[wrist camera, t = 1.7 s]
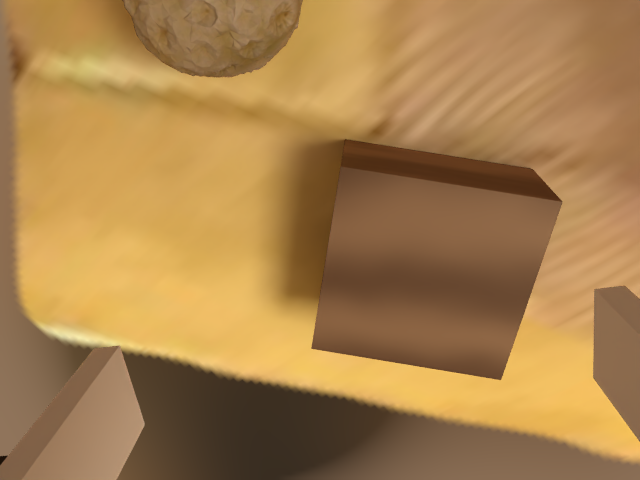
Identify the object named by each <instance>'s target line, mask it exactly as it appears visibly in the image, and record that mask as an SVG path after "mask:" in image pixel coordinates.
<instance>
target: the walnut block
mask: <svg viewBox="0 0 640 480" xmlns="http://www.w3.org/2000/svg"><path fill="white" fill-rule="evenodd" d="M561 205H562V201H561V200H560V199H559V197H558V196H557V195H556V194H555V193H554V192H553V191H552V190H551V189H550V188H549V187H548V185H547V184H546V183H545V182H544V181H543V180H542V179H541V178H540V177H539V176H538V175H537V173H536V172H535V171H534V170H533V169H529V168H522V167H516V166H510V165H504V164H497V163H491V162H485V161H478V160H472V159H466V158H459V157H453V156H447V155H440V154H434V153H428V152H421V151H415V150H409V149H402V148H396V147H390V146H384V145H377V144H371V143H365V142H358V141H352V140H346V139H345V144H344V150H343V156H342V162H341V168H340V174H339V180H338V187H337V193H336V199H335V205H334V212H333V218H332V224H331V230H330V236H329V243H328V249H327V255H326V261H325V268H324V274H323V280H322V286H321V292H320V299H319V305H318V311H317V317H316V323H315V330H314V336H313V342H312V348H311V349H317V350H323V351H329V352H335V353H341V354H347V355H353V356H359V357H365V358H371V359H377V360H383V361H389V362H395V363H401V364H407V365H413V366H419V367H425V368H432V369H438V370H444V371H450V372H456V373H462V374H468V375H474V376H480V377H486V378H492V379H498V380H501V378H502V376H503V373H504V370H505V367H506V364H507V361H508V358H509V355H510V352H511V349H512V347H513V344H514V341H515V338H516V335H517V332H518V329H519V326H520V323H521V321H522V318H523V315H524V312H525V309H526V306H527V303H528V300H529V297H530V295H531V292H532V289H533V286H534V283H535V280H536V277H537V274H538V271H539V269H540V266H541V263H542V260H543V257H544V254H545V251H546V248H547V245H548V242H549V240H550V237H551V234H552V231H553V228H554V225H555V222H556V219H557V216H558V214H559V211H560V208H561Z"/></svg>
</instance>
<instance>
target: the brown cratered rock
mask: <svg viewBox="0 0 640 480" xmlns="http://www.w3.org/2000/svg"><path fill="white" fill-rule="evenodd" d="M302 1H303V0H123V2H124V6H125V8H126V10H127V11H128V12H129V14H130V15H131V17H132V20H133V23H134V28H135V31H136V34H137V36H138V37H139V39H140V40H141V41H142V43H143V44H144V45H145V47H146V48H147V49H148V50H149V51H150V52H151V53H153V54H154V55H155V56H156V57H158V58H159V59H160V60H161V61H162V62H163V63H165V64H167V65H169V66H170V67H172V68H174V69H176V70H178V71H180V72H181V73H187V74H189V75H192V76H195V75H197V76H207V77H233V76H236V75H239V74H244V73H246V72H252V71H253V70H258V69H260V68H262V67H263V66H265V65H266V64H267V62H269V61H270V60H271V59H272V58H273V57H274V56H275V55H276V54H277V53H278V52H279V51H280V50H281V49H282V48H283V47H284V46H285V45H286V43H287V41H288V39H289V38H290V37H291V35H292V33H293V31H294V30H295V29H296V28H297V27H298V21H299V16H300V10H301V4H302Z"/></svg>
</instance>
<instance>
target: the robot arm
mask: <svg viewBox="0 0 640 480" xmlns="http://www.w3.org/2000/svg"><path fill="white" fill-rule="evenodd" d="M593 378H594V379H595V381H596V382H597V384H598V385H599V386H600V388H601V389H602V390H603V392H604V393H605V395H606V396H607V397H608V399H609V400H610V401H611V403H612V404H613V406H614V407H615V408H616V410H617V411H618V412H619V414H620V415H621V417H622V418H623V419H624V421H625V422H626V423H627V425H628V426H629V427H630V429H631V430H632V432H633V433H634V434H635V436H636V437H637V438H638V440H639V441H640V299H639V298H638V297H637V296H636V295H635V294H633V293H632V292H631V291H630V290H629V289H628V288H627V287H626V286H618V287H609V288H601V289H594V362H593ZM143 427H144V420H143V417H142V414H141V411H140V408H139V405H138V402H137V399H136V396H135V392H134V390H133V386H132V383H131V380H130V377H129V374H128V370H127V367H126V364H125V361H124V358H123V355H122V352H121V348H120V346H112V347H103V348H95V349H93V351H92V352H91V353H90V354H89V356H88V357H87V358H86V359H85V361H84V362H83V363H82V364H81V366H80V367H79V368H78V369H77V371H76V372H75V373H74V374H73V376H72V377H71V378H70V379H69V381H68V382H67V383H66V384H65V385H64V387H63V388H62V390H61V391H60V392H59V393H58V394H57V395H56V397H55V398H54V399H53V400H52V402H51V403H50V404H49V405H48V407H47V408H46V409H45V411H44V412H43V413H42V414H41V415H40V417H39V418H38V419H37V420H36V422H35V423H34V424H33V425H32V427H31V428H30V429H29V430H28V432H27V433H26V434H25V435H24V437H23V438H22V439H21V440H20V442H19V443H18V444H17V445H16V447H15V448H14V449H13V451H12V452H11V453H10V454H9V455H8V456H0V480H116V479H117V477H118V475H119V473H120V471H121V470H122V467H123V466H124V464H125V462H126V460H127V458H128V456H129V454H130V452H131V450H132V448H133V446H134V444H135V442H136V440H137V439H138V437H139V435H140V433H141V431H142V429H143Z"/></svg>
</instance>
